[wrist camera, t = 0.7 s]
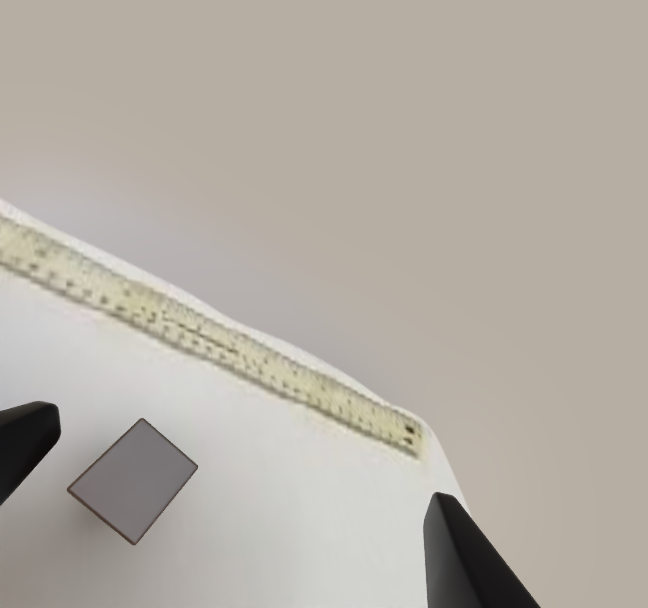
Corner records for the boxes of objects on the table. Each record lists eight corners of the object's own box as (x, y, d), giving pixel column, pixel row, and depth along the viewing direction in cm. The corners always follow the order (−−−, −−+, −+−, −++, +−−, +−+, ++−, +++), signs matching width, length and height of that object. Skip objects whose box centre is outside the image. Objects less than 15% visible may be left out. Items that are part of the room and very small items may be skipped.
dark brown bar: (121, 515, 18) (134, 547, 9) (86, 487, 18) (65, 489, 9) (156, 474, 19) (199, 466, 10) (126, 448, 19) (142, 416, 10)
